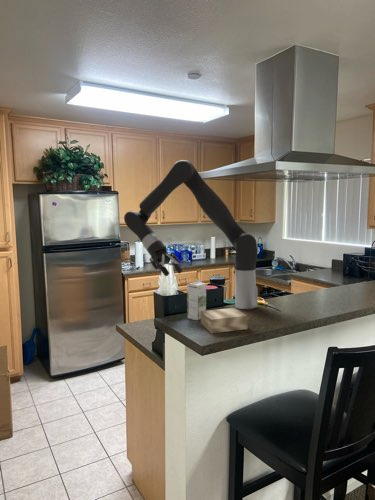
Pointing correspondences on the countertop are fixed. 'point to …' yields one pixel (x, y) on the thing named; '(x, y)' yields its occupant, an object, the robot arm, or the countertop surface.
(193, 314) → the syrup box
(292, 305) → the countertop surface
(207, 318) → the riser block
